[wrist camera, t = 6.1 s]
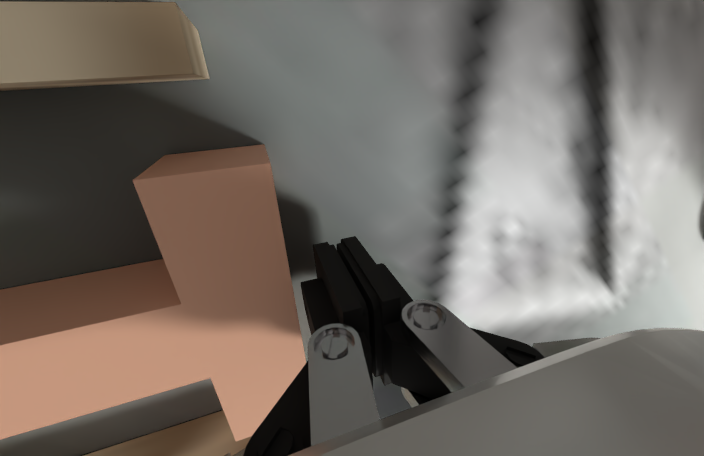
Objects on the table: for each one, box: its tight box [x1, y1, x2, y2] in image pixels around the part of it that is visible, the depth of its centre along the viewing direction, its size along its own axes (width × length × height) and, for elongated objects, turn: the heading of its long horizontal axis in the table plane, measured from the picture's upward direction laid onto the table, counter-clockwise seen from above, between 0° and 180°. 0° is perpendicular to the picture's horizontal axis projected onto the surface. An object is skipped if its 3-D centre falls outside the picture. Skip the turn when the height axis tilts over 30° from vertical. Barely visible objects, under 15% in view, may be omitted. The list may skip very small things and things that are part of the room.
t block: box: [0, 144, 306, 441], centre depth 10 cm, size 10×10×3 cm
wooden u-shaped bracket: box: [0, 1, 252, 456], centre depth 9 cm, size 14×16×3 cm
